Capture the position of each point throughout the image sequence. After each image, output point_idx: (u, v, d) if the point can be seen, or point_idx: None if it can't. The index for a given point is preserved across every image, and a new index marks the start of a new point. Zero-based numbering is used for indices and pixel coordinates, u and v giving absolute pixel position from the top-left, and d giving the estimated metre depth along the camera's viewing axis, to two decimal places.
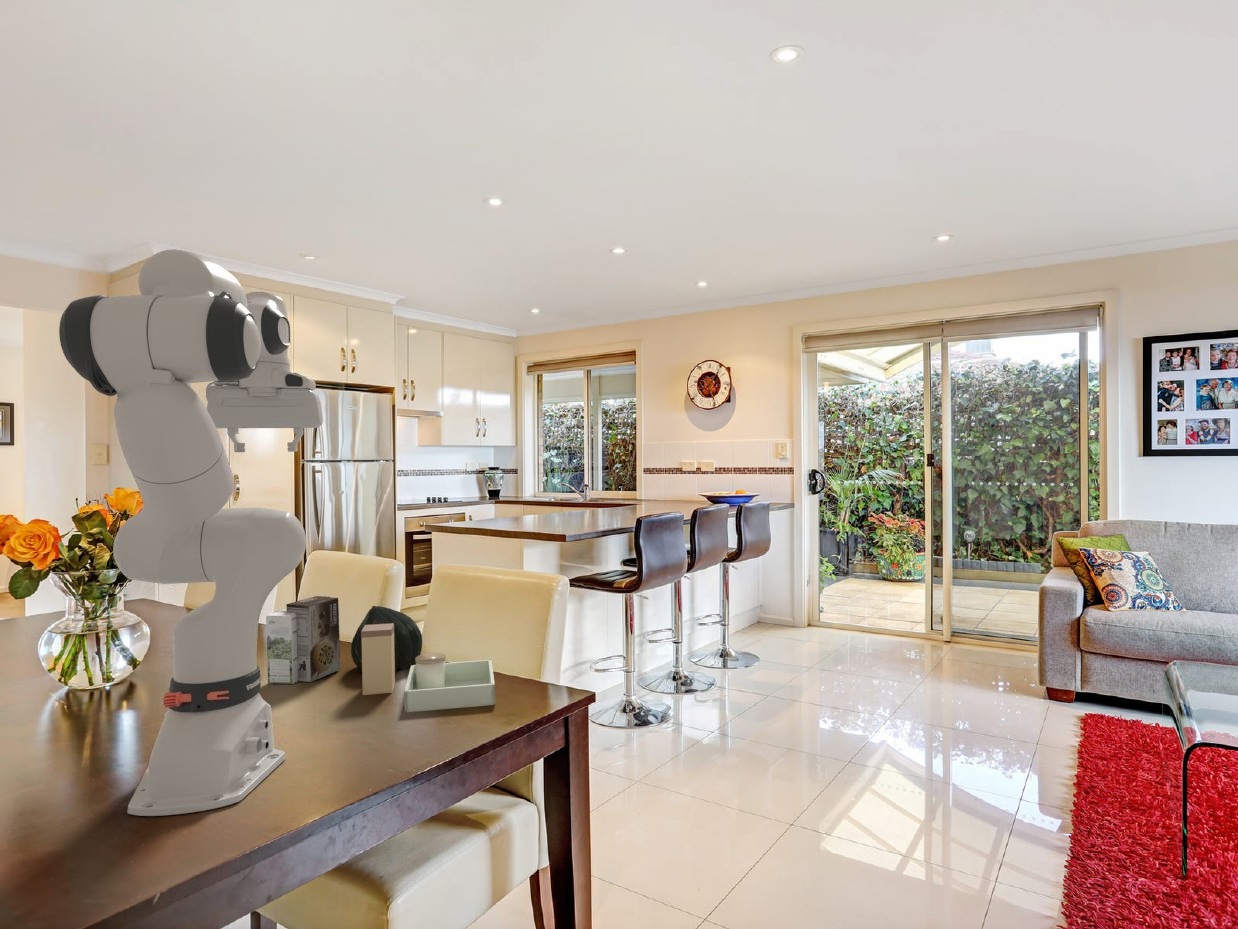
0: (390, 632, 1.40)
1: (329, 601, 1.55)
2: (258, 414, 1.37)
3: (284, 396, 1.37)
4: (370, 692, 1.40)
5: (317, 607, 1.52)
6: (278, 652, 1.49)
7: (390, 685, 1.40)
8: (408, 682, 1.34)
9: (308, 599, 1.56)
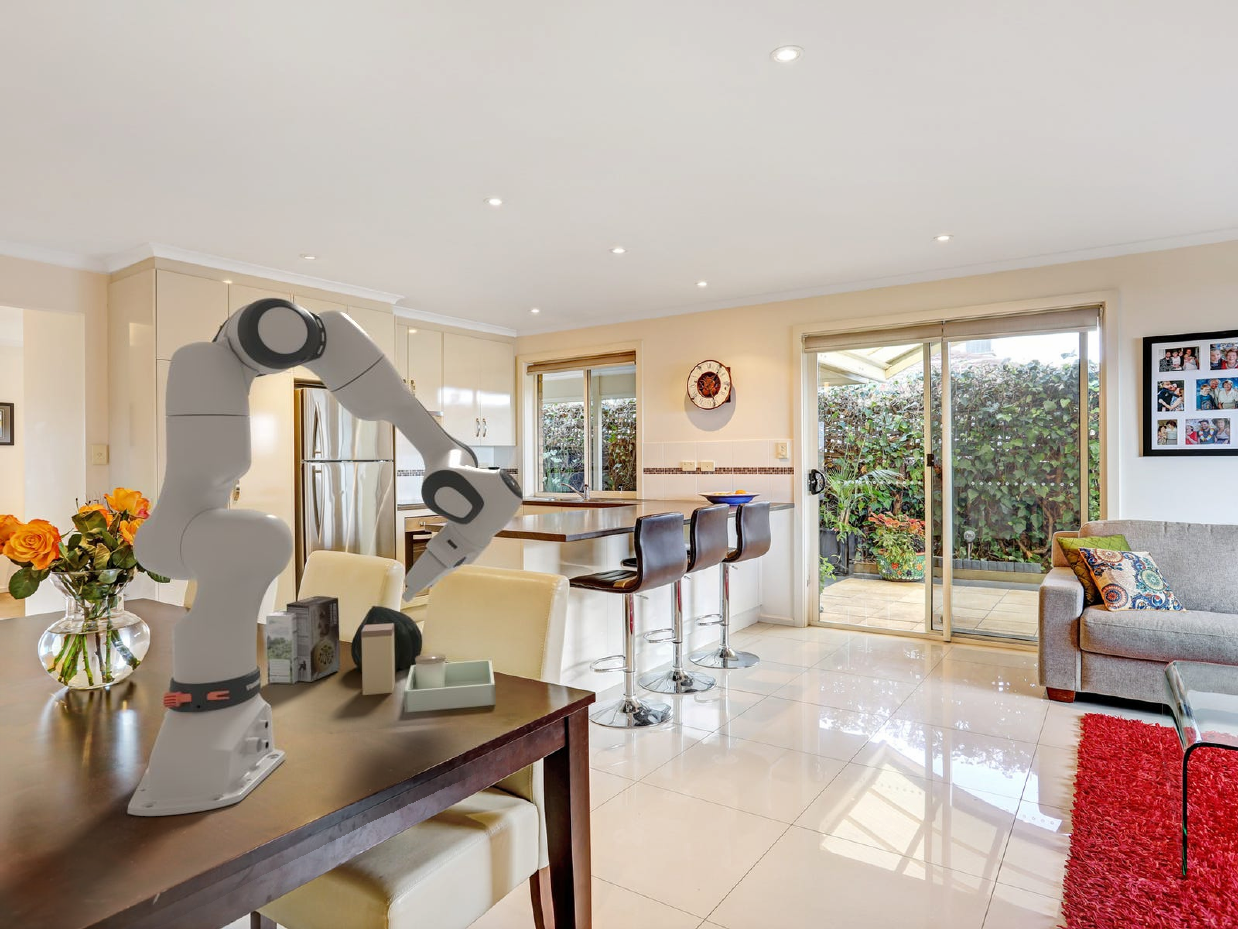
0: (390, 632, 1.40)
1: (329, 601, 1.55)
2: None
3: None
4: (370, 692, 1.40)
5: (317, 607, 1.52)
6: (278, 652, 1.49)
7: (390, 685, 1.40)
8: (408, 682, 1.34)
9: (308, 599, 1.56)
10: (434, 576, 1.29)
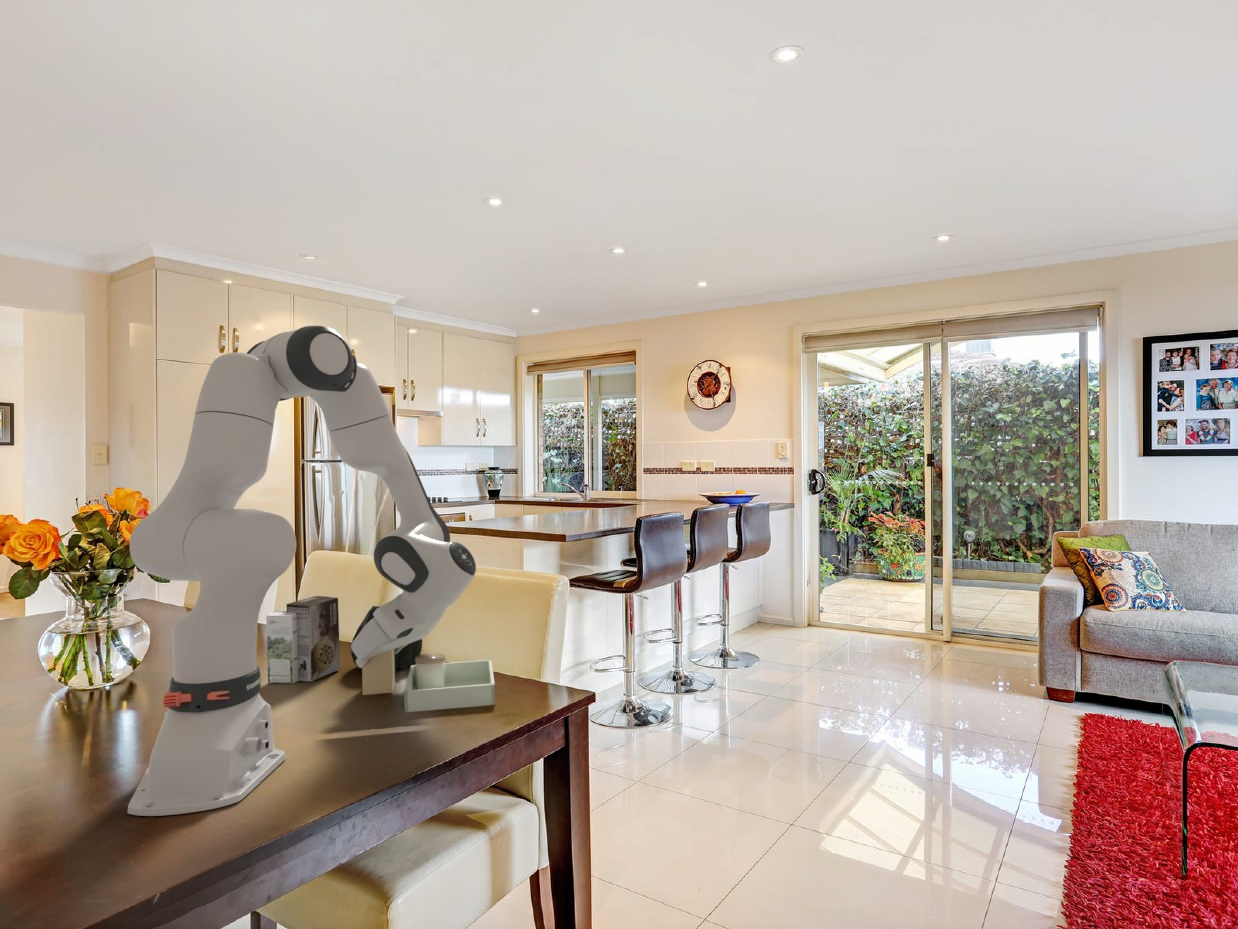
0: None
1: (329, 601, 1.55)
2: None
3: None
4: (370, 692, 1.40)
5: (317, 607, 1.52)
6: (278, 652, 1.49)
7: (390, 685, 1.40)
8: (408, 682, 1.34)
9: (308, 599, 1.56)
10: (376, 645, 1.31)
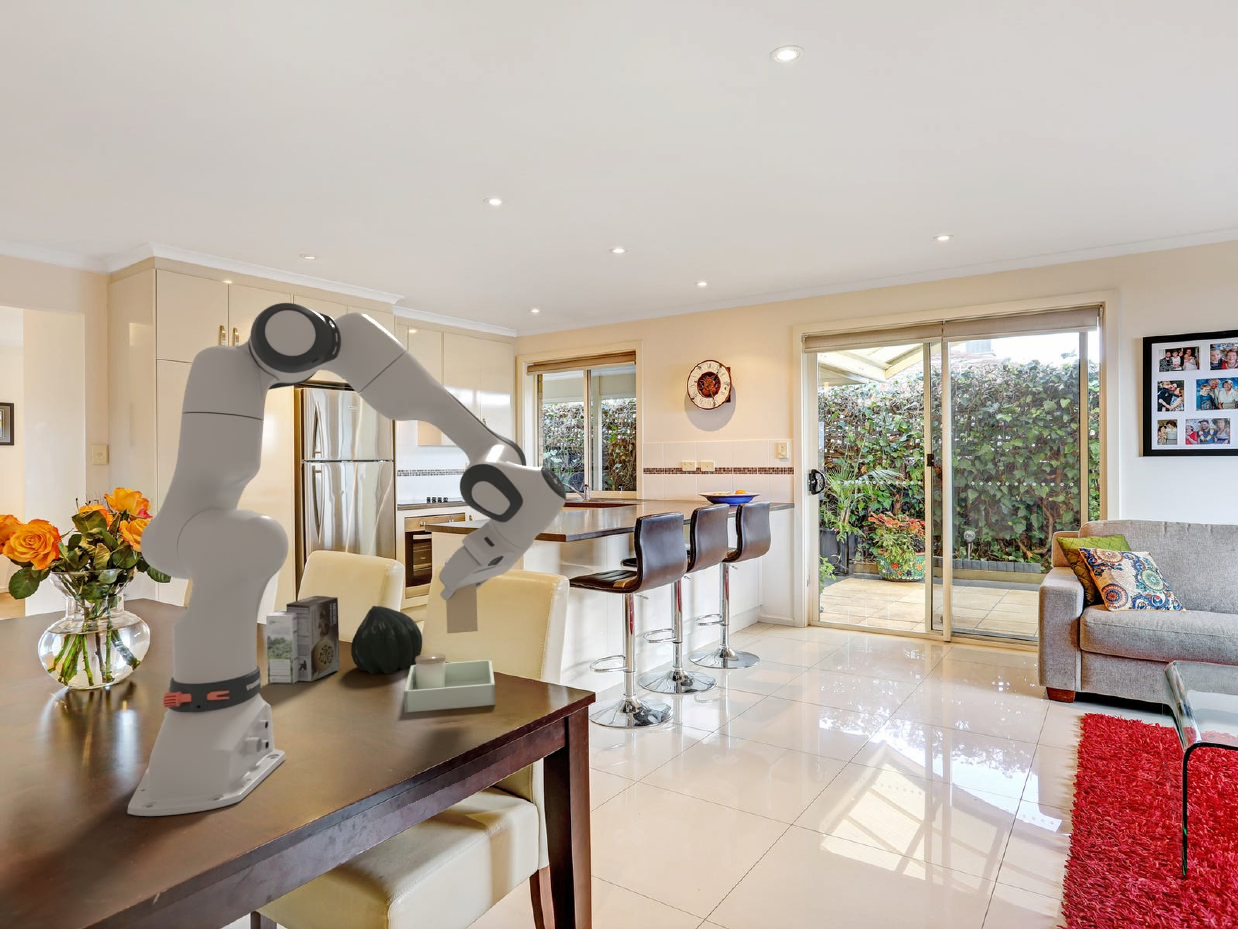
0: None
1: (329, 601, 1.56)
2: None
3: None
4: (455, 626, 1.33)
5: (317, 607, 1.52)
6: (278, 652, 1.49)
7: (475, 619, 1.34)
8: (408, 682, 1.34)
9: (307, 599, 1.56)
10: (467, 573, 1.24)
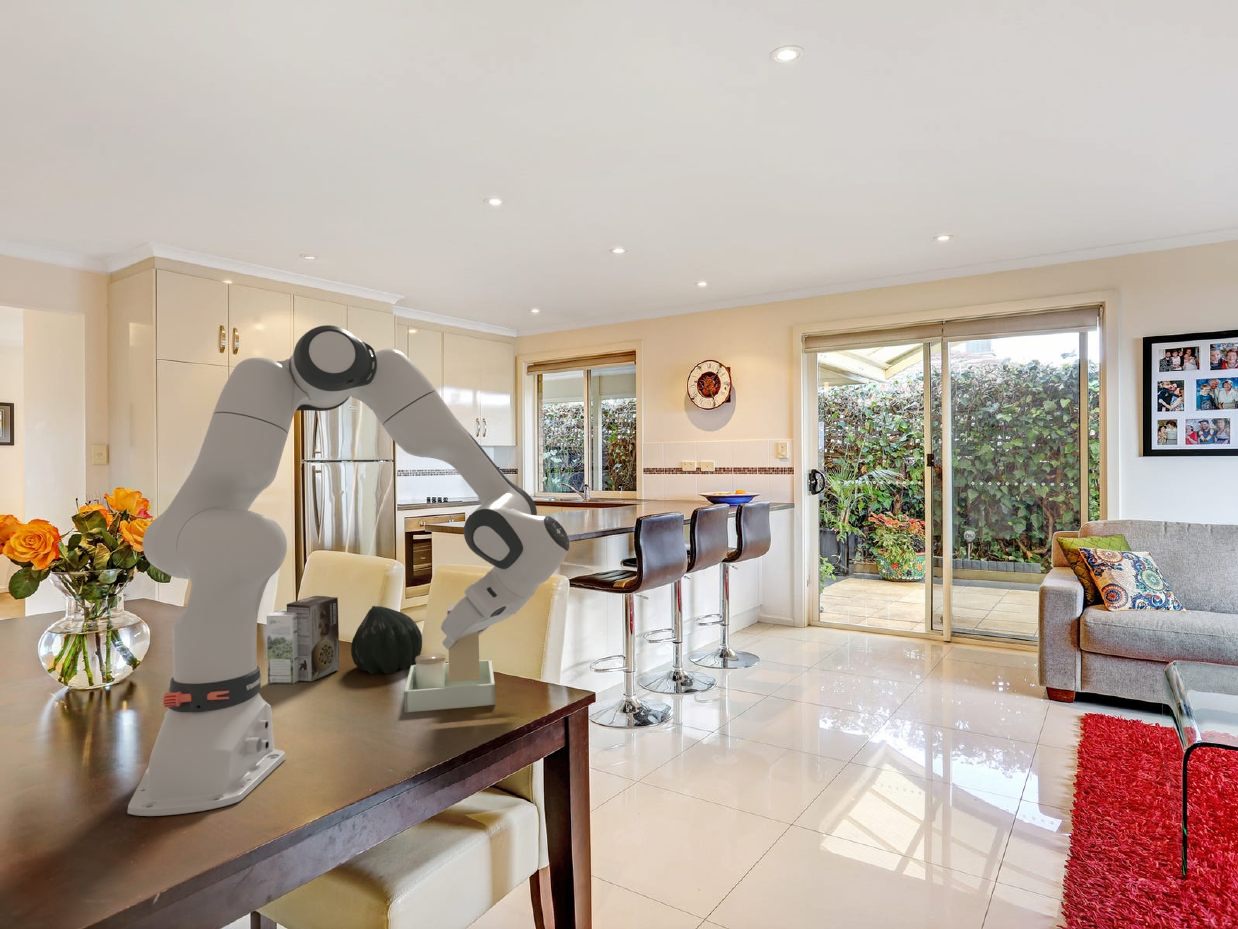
0: None
1: (329, 601, 1.56)
2: None
3: None
4: (457, 674, 1.33)
5: (318, 607, 1.52)
6: (279, 652, 1.49)
7: (477, 667, 1.34)
8: (408, 682, 1.34)
9: (308, 599, 1.56)
10: (470, 624, 1.24)
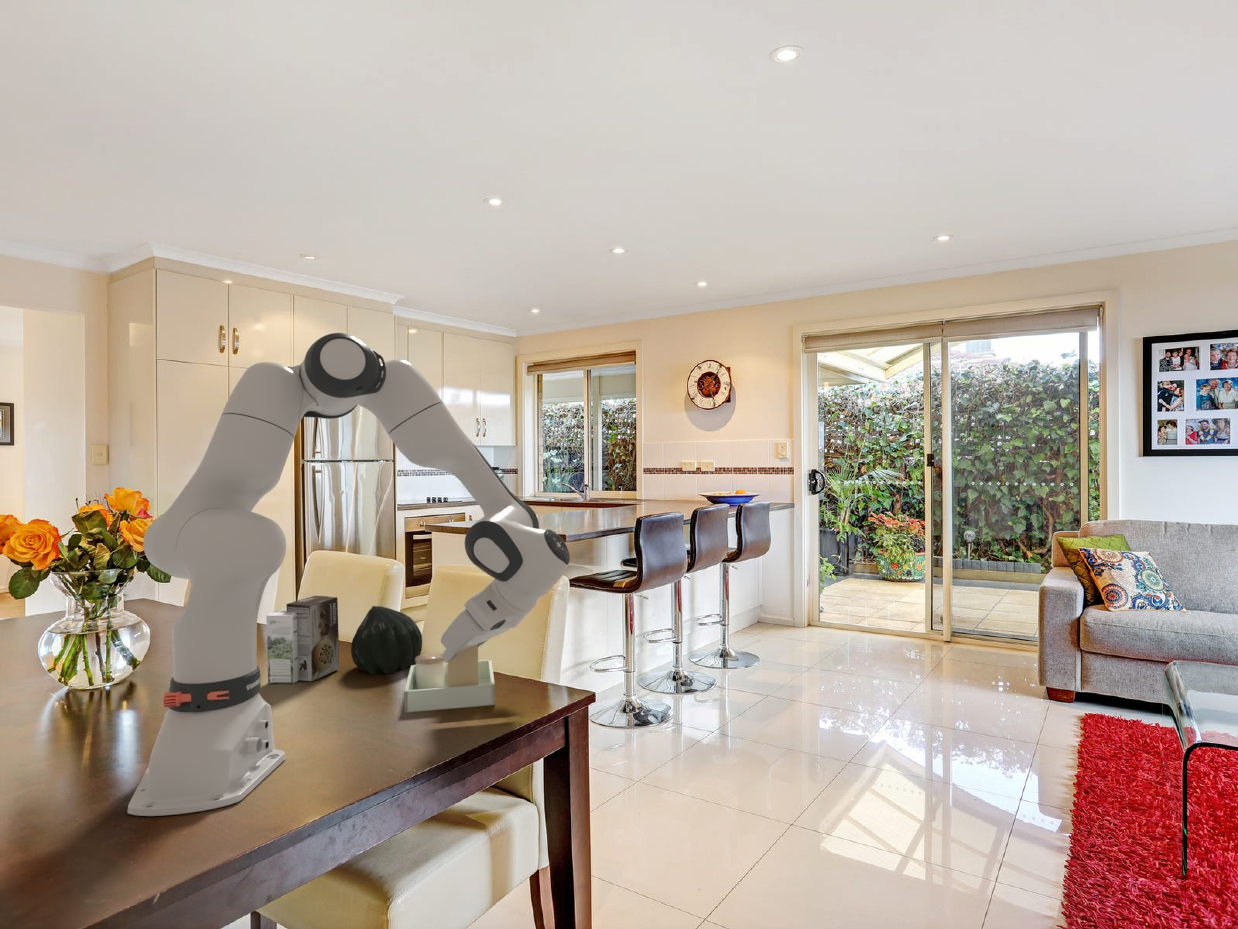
0: None
1: (329, 600, 1.56)
2: None
3: None
4: None
5: (318, 606, 1.52)
6: (279, 652, 1.49)
7: None
8: (408, 682, 1.34)
9: (307, 599, 1.56)
10: (469, 638, 1.24)
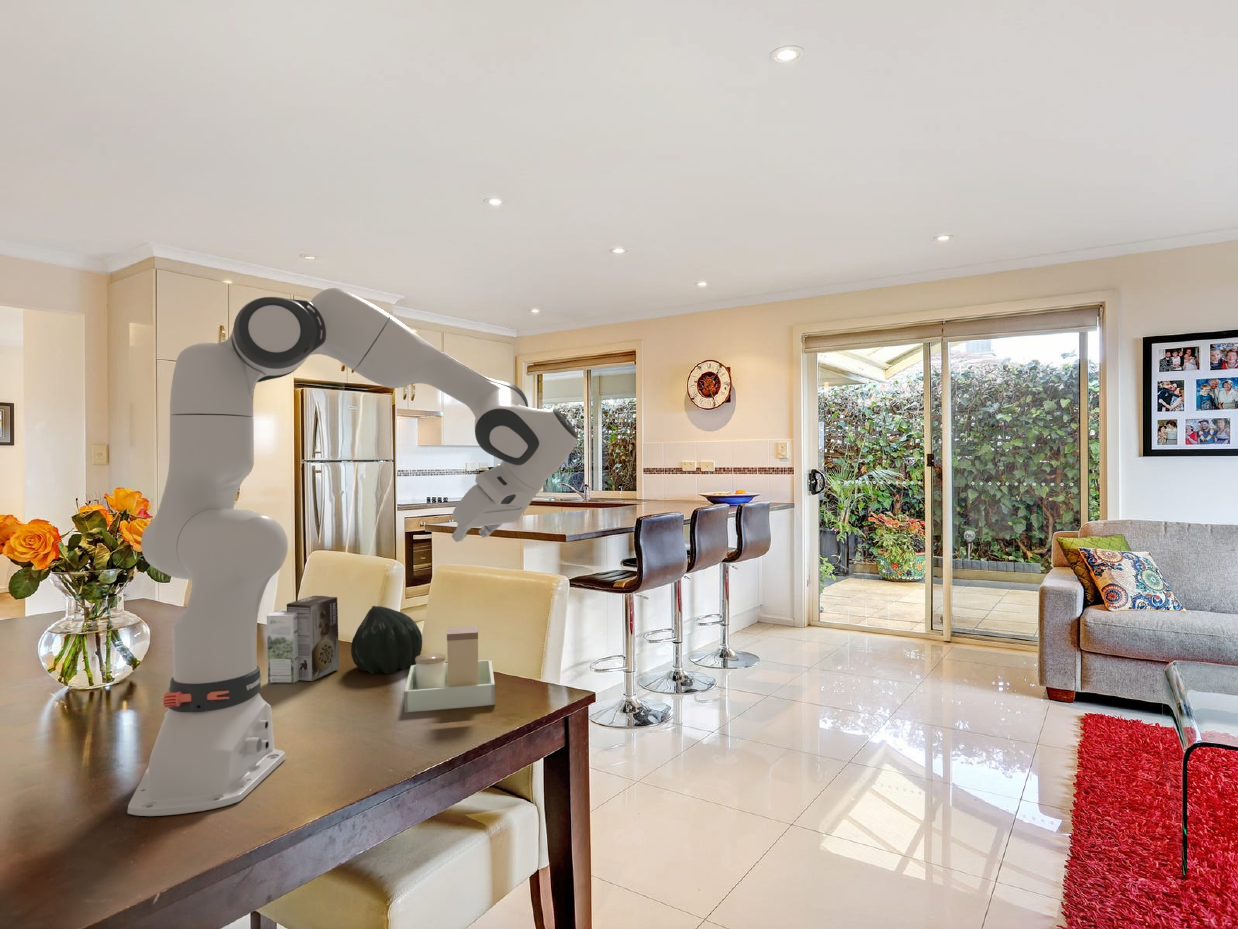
0: (476, 635, 1.33)
1: (329, 600, 1.56)
2: None
3: None
4: None
5: (318, 606, 1.52)
6: (279, 652, 1.49)
7: None
8: (408, 682, 1.34)
9: (307, 599, 1.56)
10: (481, 510, 1.26)
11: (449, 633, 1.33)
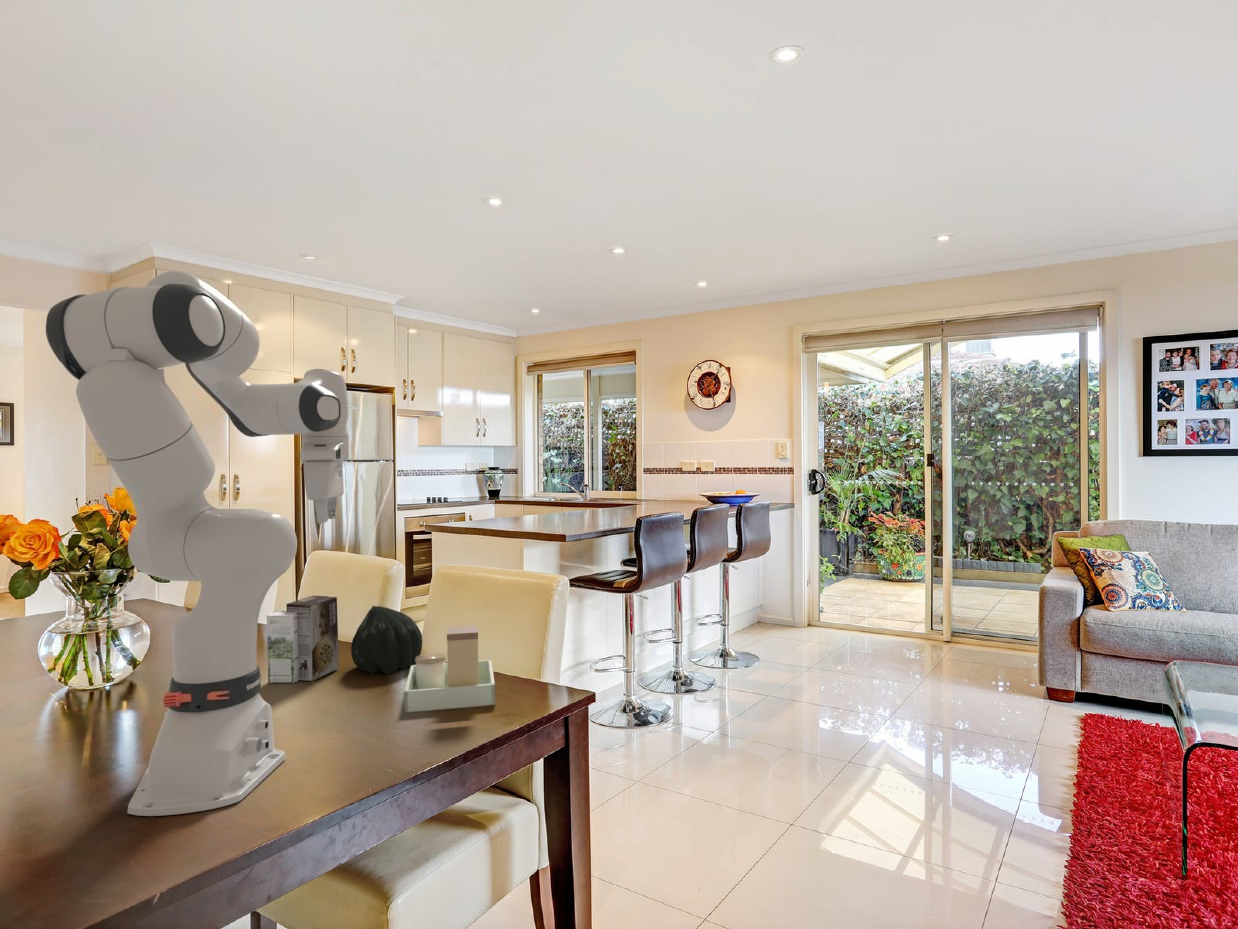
0: (476, 635, 1.33)
1: (329, 600, 1.56)
2: None
3: None
4: None
5: (318, 606, 1.52)
6: (279, 652, 1.49)
7: None
8: (408, 682, 1.34)
9: (307, 599, 1.56)
10: (328, 472, 1.36)
11: (449, 633, 1.33)
